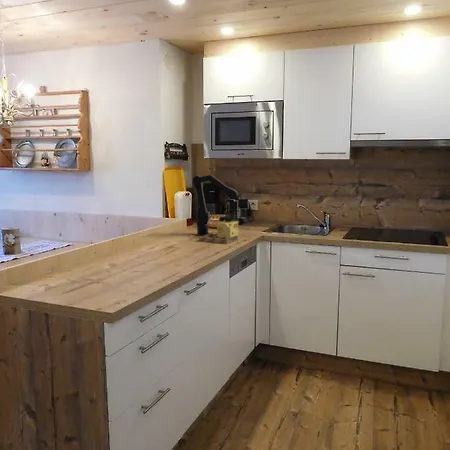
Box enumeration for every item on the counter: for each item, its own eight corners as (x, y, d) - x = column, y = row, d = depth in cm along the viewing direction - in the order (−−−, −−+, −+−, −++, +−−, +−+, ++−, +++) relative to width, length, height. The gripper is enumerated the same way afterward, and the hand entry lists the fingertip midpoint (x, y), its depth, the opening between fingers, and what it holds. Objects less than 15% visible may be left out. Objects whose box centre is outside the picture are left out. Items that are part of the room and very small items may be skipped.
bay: (199, 241, 276) (198, 237, 276) (210, 237, 288) (210, 233, 288) (227, 243, 266) (226, 239, 266) (237, 239, 278) (237, 235, 278)
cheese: (230, 239, 280) (230, 223, 279) (216, 237, 286) (216, 222, 285) (238, 236, 289) (238, 221, 287) (225, 235, 295) (224, 220, 293)
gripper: (214, 209, 289) (215, 233, 292) (240, 211, 280) (240, 235, 283) (223, 207, 299) (223, 230, 301) (247, 209, 290) (248, 232, 292)
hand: (233, 232), depth 294 cm, fingers closed
